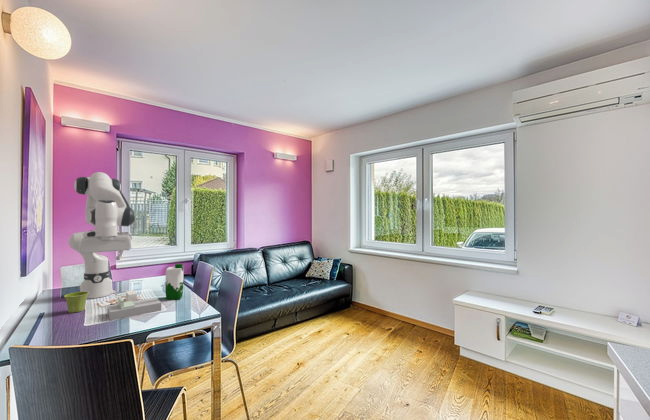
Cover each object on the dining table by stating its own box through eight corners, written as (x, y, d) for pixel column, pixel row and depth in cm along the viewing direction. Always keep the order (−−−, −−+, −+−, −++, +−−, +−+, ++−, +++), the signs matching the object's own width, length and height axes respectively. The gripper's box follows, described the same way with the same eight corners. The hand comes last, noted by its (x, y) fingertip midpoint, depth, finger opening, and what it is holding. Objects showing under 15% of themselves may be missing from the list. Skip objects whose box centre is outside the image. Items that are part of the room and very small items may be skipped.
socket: (107, 314, 140) (107, 305, 140) (155, 304, 154) (155, 297, 154) (110, 320, 131) (110, 312, 131) (161, 310, 145) (161, 302, 145)
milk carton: (181, 299, 163) (181, 265, 164) (163, 301, 161) (164, 266, 161) (184, 295, 172) (184, 262, 172) (167, 297, 169) (167, 263, 169)
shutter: (118, 304, 142) (118, 296, 142) (131, 302, 146) (131, 294, 146) (121, 309, 135) (121, 301, 135) (135, 306, 139) (135, 299, 139)
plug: (125, 303, 155) (125, 291, 155) (133, 302, 158) (133, 290, 158) (128, 307, 149) (128, 294, 149) (136, 306, 151) (136, 293, 151)
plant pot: (73, 315, 138) (74, 297, 139) (58, 313, 140) (59, 296, 141) (93, 308, 148) (93, 292, 148) (78, 307, 150) (78, 291, 150)
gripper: (130, 231, 148) (130, 258, 147) (78, 233, 134) (78, 262, 133) (132, 231, 143) (132, 259, 143) (79, 233, 129) (79, 264, 129)
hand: (106, 261), depth 138 cm, fingers open, 8 cm apart
